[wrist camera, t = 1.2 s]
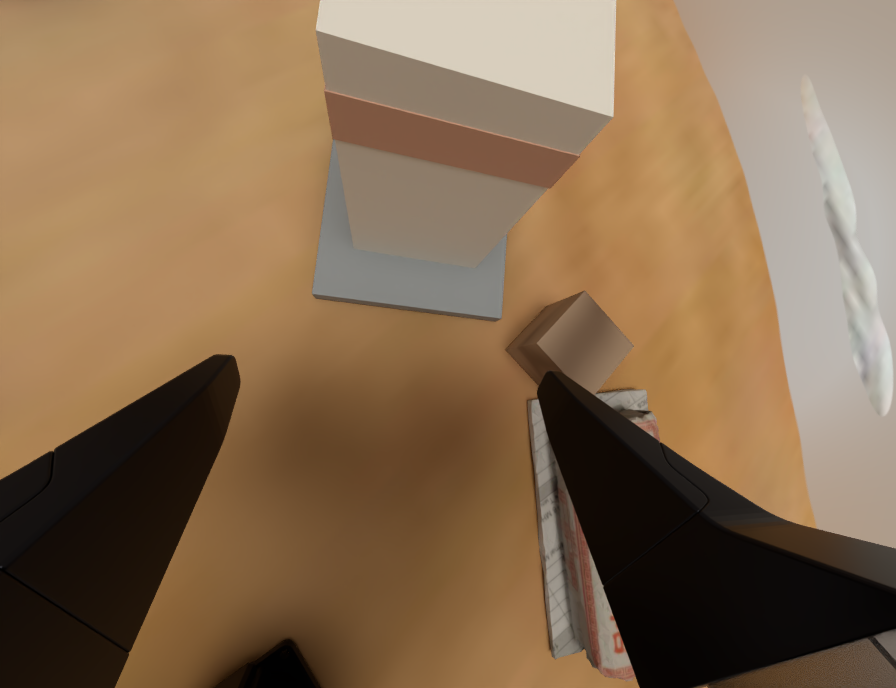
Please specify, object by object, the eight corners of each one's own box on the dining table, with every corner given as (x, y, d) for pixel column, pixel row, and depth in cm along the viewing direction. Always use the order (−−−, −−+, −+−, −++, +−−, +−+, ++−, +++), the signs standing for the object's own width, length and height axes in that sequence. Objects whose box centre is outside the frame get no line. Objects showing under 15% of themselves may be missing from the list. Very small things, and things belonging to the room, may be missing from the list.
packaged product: (721, 667, 21) (587, 714, 19) (658, 613, 26) (545, 646, 23) (684, 389, 22) (556, 402, 20) (631, 387, 27) (522, 397, 25)
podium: (495, 321, 25) (506, 316, 22) (315, 298, 22) (308, 289, 20) (511, 87, 27) (522, 62, 25) (350, 40, 24) (347, 7, 22)
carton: (475, 269, 23) (614, 118, 10) (352, 249, 22) (313, 31, 8) (482, 178, 24) (619, -77, 11) (364, 152, 22) (347, -197, 9)
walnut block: (586, 351, 26) (634, 345, 21) (548, 396, 25) (589, 400, 20) (545, 306, 26) (585, 290, 21) (504, 349, 25) (536, 343, 20)
